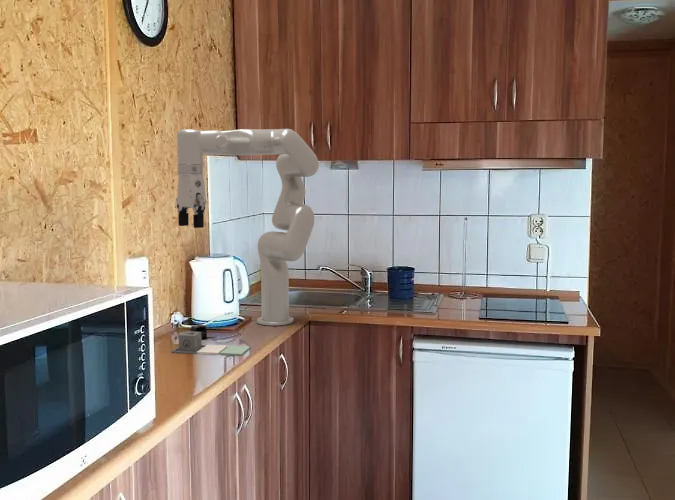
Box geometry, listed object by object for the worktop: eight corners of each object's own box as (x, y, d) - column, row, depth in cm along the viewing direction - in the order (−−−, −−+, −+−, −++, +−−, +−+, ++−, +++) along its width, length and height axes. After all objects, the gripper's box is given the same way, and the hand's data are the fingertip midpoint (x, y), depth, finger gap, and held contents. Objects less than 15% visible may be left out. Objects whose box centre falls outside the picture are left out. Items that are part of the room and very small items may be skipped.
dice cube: (195, 352, 203) (194, 335, 202) (179, 351, 204) (178, 335, 203) (201, 348, 207) (201, 331, 207) (186, 347, 208) (185, 331, 208)
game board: (182, 345, 210) (182, 343, 210) (250, 348, 206) (250, 346, 206) (171, 352, 202) (171, 350, 202) (241, 356, 198) (241, 353, 198)
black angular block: (187, 345, 213) (186, 330, 212) (175, 341, 218) (174, 327, 218) (221, 338, 221) (221, 324, 220) (209, 334, 226) (209, 321, 226)
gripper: (215, 170, 207) (215, 228, 209) (188, 170, 220) (188, 224, 222) (192, 170, 202) (193, 229, 204) (166, 170, 216) (167, 225, 217)
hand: (190, 226), depth 213 cm, fingers open, 9 cm apart
